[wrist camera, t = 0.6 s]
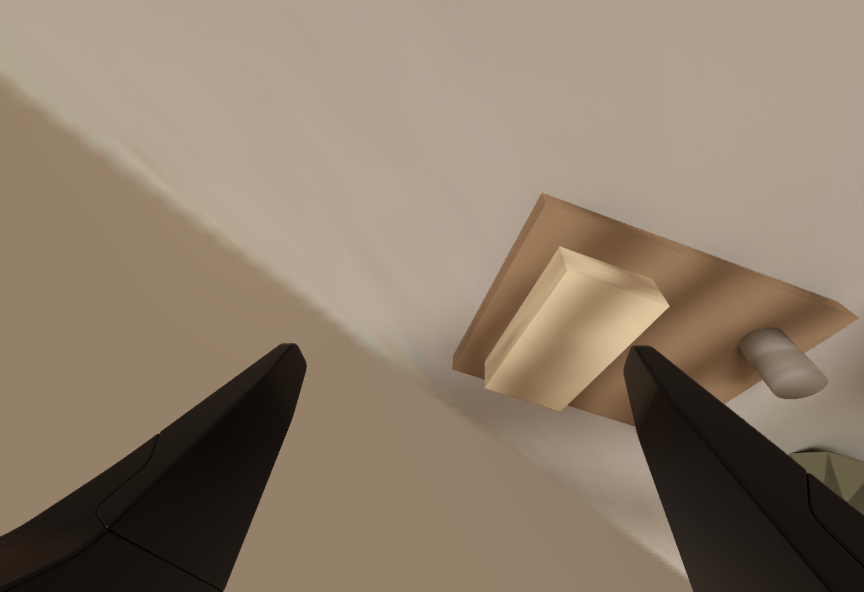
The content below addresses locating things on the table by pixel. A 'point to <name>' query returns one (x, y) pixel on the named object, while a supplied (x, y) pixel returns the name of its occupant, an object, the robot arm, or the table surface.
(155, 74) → the table surface
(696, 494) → the robot arm
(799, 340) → the board
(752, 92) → the table surface
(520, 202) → the table surface
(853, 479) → the spool
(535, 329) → the maple plate
